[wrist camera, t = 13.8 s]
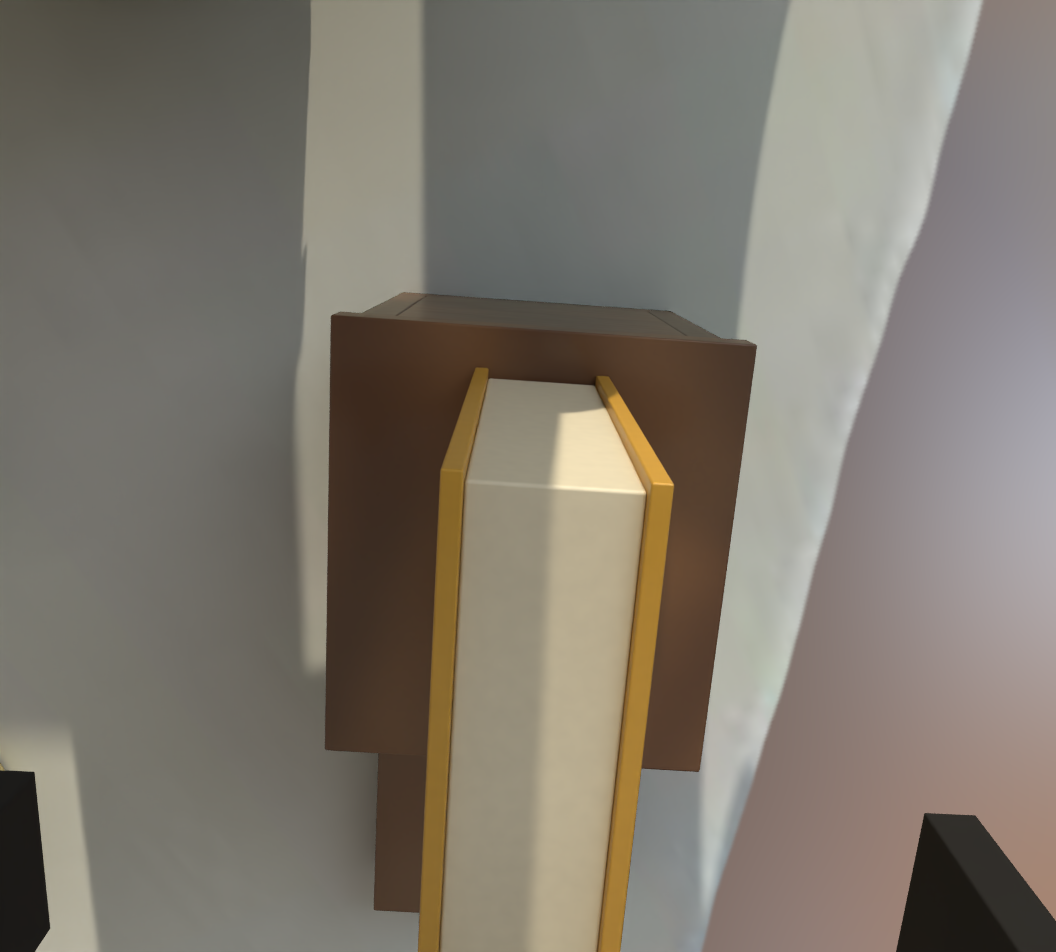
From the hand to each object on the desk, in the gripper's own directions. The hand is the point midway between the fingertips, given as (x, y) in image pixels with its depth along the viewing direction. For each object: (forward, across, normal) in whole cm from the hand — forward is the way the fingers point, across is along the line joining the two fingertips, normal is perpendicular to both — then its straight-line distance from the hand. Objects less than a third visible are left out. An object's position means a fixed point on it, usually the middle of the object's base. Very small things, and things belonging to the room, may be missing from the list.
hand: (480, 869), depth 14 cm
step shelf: (+29, +1, -8) cm, 30 cm away
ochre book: (+15, +1, -1) cm, 15 cm away
